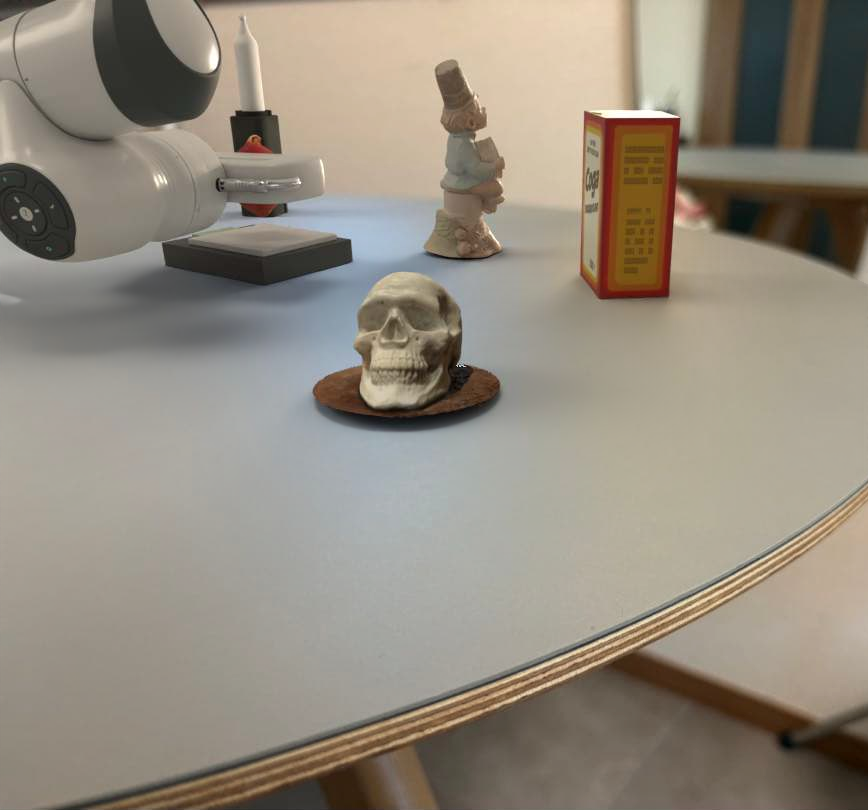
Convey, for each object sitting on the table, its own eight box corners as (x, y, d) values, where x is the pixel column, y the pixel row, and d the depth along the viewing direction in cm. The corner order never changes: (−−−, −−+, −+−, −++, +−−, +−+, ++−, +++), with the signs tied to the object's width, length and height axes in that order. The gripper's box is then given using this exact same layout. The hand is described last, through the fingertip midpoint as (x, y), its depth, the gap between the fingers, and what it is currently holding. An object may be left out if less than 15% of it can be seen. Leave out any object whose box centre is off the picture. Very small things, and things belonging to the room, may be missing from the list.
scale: (165, 265, 88) (160, 236, 87) (256, 245, 98) (253, 219, 97) (264, 285, 81) (261, 254, 80) (353, 261, 90) (350, 233, 89)
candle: (257, 209, 120) (234, 14, 110) (291, 210, 119) (270, 14, 109) (238, 215, 115) (212, 12, 106) (273, 217, 114) (250, 12, 105)
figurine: (439, 264, 89) (431, 59, 82) (416, 248, 97) (407, 58, 89) (517, 257, 93) (516, 59, 85) (489, 242, 100) (486, 58, 92)
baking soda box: (580, 273, 86) (584, 106, 80) (642, 272, 87) (651, 106, 81) (599, 298, 77) (605, 113, 71) (668, 296, 78) (680, 112, 72)
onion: (267, 223, 84) (257, 138, 80) (220, 220, 85) (208, 136, 82) (302, 214, 89) (294, 133, 86) (256, 210, 90) (247, 132, 87)
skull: (496, 419, 49) (370, 286, 47) (377, 512, 53) (255, 394, 50) (529, 346, 60) (427, 235, 57) (428, 428, 64) (329, 328, 61)
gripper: (275, 149, 70) (351, 135, 82) (67, 142, 75) (169, 130, 87) (283, 226, 72) (357, 201, 85) (82, 215, 77) (179, 193, 89)
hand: (260, 165), depth 86 cm, fingers closed on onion, 5 cm apart
